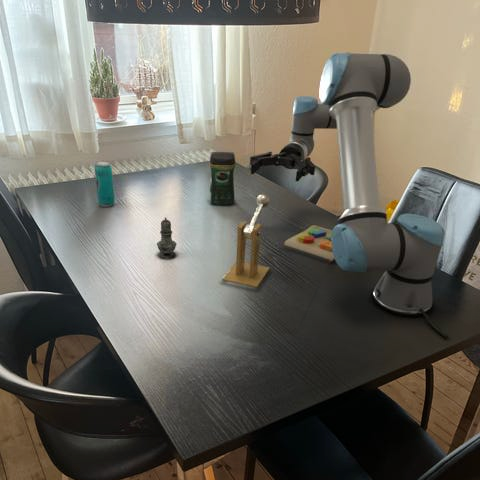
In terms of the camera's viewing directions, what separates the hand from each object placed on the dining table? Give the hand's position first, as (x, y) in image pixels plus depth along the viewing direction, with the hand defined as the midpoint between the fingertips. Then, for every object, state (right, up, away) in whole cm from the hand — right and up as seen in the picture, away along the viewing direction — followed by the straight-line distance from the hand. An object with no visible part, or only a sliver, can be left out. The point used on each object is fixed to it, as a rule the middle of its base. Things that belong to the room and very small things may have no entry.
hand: (274, 173), depth 144 cm
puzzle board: (+16, -19, +17) cm, 30 cm away
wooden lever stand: (-8, -31, -3) cm, 32 cm away
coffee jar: (-17, +2, +45) cm, 48 cm away
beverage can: (-58, -1, +38) cm, 69 cm away
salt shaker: (-32, -23, +7) cm, 40 cm away
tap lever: (-5, -15, -6) cm, 17 cm away
